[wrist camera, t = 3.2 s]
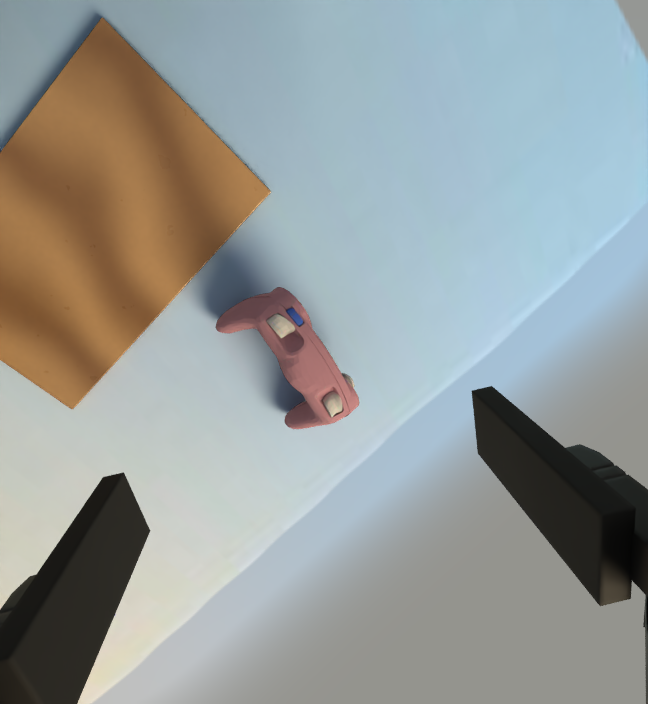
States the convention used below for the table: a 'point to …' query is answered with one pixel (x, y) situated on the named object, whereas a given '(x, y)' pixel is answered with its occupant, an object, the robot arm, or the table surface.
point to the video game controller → (296, 356)
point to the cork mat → (106, 214)
